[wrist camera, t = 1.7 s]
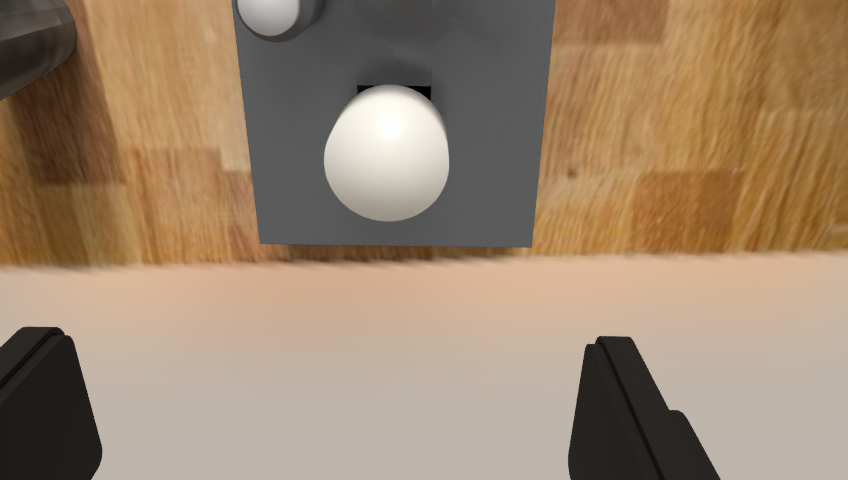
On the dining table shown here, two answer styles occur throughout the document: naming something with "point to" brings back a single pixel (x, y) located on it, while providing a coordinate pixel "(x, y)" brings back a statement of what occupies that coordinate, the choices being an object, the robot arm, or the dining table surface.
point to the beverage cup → (32, 41)
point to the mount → (406, 66)
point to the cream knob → (388, 153)
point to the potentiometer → (278, 17)
